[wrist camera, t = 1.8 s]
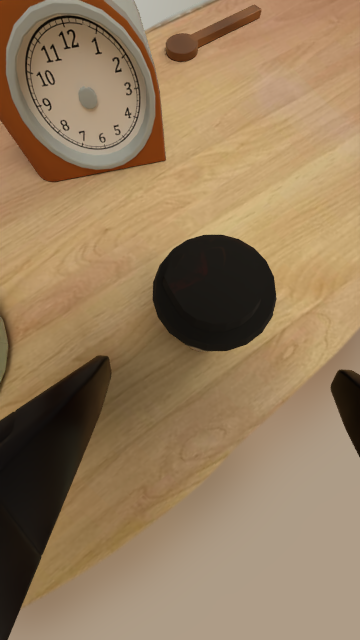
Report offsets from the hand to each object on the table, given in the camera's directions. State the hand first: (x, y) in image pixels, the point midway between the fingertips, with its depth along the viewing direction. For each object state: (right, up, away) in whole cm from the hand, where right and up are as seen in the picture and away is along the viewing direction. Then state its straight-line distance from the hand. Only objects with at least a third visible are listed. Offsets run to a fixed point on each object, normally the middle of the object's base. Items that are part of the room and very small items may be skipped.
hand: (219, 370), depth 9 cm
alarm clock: (-11, +23, +19) cm, 31 cm away
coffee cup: (+1, +1, +12) cm, 12 cm away
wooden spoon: (+3, +43, +24) cm, 49 cm away
